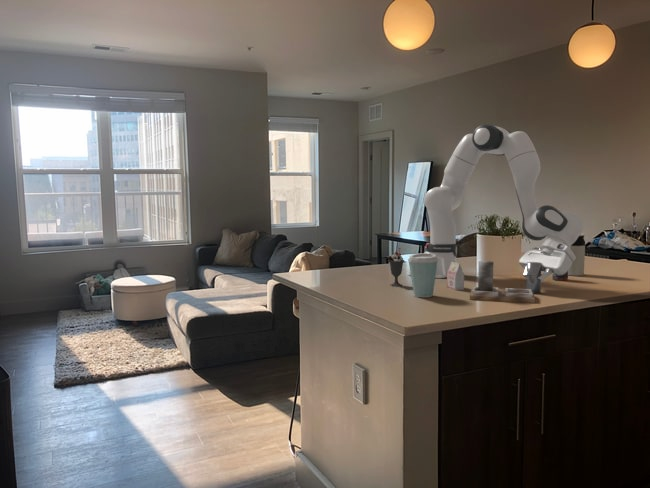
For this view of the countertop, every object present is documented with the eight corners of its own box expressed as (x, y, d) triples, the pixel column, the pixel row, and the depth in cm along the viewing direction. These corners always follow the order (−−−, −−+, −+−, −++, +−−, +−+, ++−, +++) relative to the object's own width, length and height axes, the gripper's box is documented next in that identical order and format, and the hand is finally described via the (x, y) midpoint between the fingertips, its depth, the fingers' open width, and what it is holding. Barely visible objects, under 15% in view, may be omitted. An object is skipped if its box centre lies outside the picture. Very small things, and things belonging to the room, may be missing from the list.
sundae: (406, 284, 212) (406, 247, 210) (402, 287, 205) (403, 249, 204) (389, 283, 214) (390, 247, 212) (386, 286, 207) (386, 248, 206)
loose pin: (526, 293, 191) (527, 263, 190) (525, 290, 195) (526, 261, 194) (541, 294, 189) (542, 264, 188) (540, 291, 194) (541, 262, 193)
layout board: (469, 299, 181) (470, 263, 180) (471, 293, 193) (472, 259, 191) (534, 303, 175) (536, 266, 173) (532, 296, 186) (533, 261, 185)
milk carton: (455, 286, 206) (455, 261, 205) (463, 289, 199) (464, 263, 198) (446, 287, 205) (447, 261, 204) (455, 290, 198) (455, 264, 197)
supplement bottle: (564, 278, 220) (565, 252, 219) (570, 281, 214) (571, 253, 213) (550, 278, 221) (551, 251, 220) (554, 281, 215) (555, 253, 214)
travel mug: (575, 276, 224) (577, 235, 222) (559, 274, 231) (561, 233, 229) (587, 275, 228) (589, 234, 226) (571, 272, 235) (573, 232, 233)
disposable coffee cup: (431, 300, 181) (432, 257, 179) (402, 297, 187) (403, 255, 185) (442, 294, 190) (442, 253, 188) (414, 292, 196) (414, 252, 194)
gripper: (527, 241, 203) (507, 268, 200) (571, 247, 184) (549, 276, 181) (536, 252, 205) (516, 279, 202) (580, 258, 186) (558, 288, 183)
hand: (532, 278), depth 191 cm, fingers open, 6 cm apart
